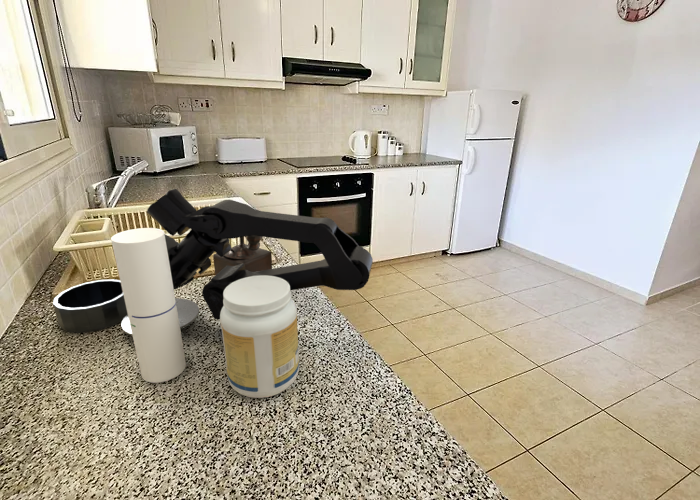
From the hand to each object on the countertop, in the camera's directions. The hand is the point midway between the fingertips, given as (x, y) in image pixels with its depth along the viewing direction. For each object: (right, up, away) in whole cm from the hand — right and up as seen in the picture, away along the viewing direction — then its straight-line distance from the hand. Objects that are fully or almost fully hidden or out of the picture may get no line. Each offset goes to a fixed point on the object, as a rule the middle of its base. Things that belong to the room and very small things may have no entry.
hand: (152, 297), depth 76 cm
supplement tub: (+26, -12, -11) cm, 31 cm away
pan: (-15, -5, +5) cm, 16 cm away
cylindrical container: (+8, -11, -10) cm, 17 cm away
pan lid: (+1, -4, +1) cm, 5 cm away
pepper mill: (+16, 0, +19) cm, 24 cm away
